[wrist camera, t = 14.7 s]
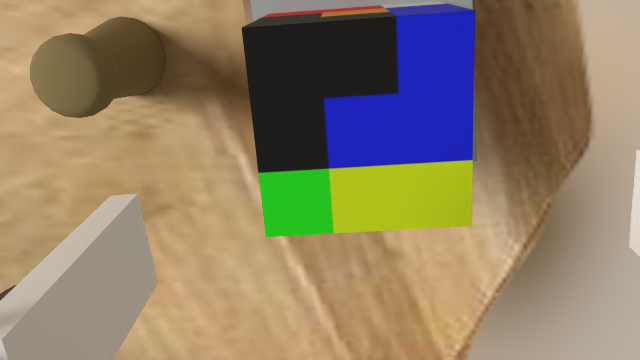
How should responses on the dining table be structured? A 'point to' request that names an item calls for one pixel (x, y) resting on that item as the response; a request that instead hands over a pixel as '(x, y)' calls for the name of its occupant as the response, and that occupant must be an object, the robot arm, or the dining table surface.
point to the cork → (97, 67)
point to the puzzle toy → (363, 117)
